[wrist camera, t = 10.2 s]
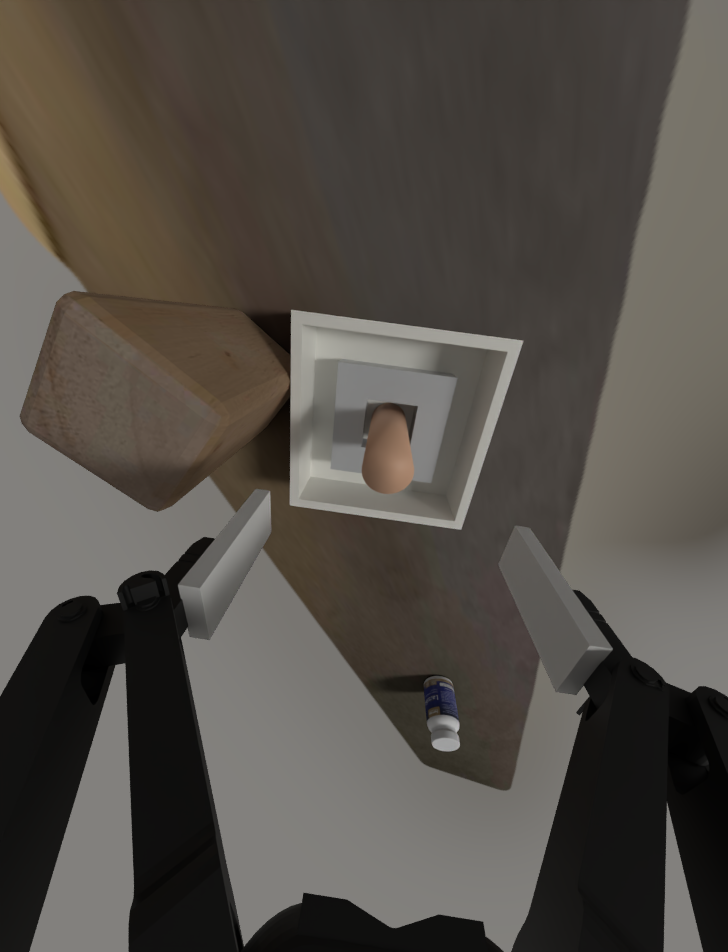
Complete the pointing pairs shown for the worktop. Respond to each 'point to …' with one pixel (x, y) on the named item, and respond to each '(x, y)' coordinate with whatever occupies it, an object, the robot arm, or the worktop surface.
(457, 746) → the pill bottle
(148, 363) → the wooden block
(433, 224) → the worktop surface
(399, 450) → the peg
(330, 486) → the tub
